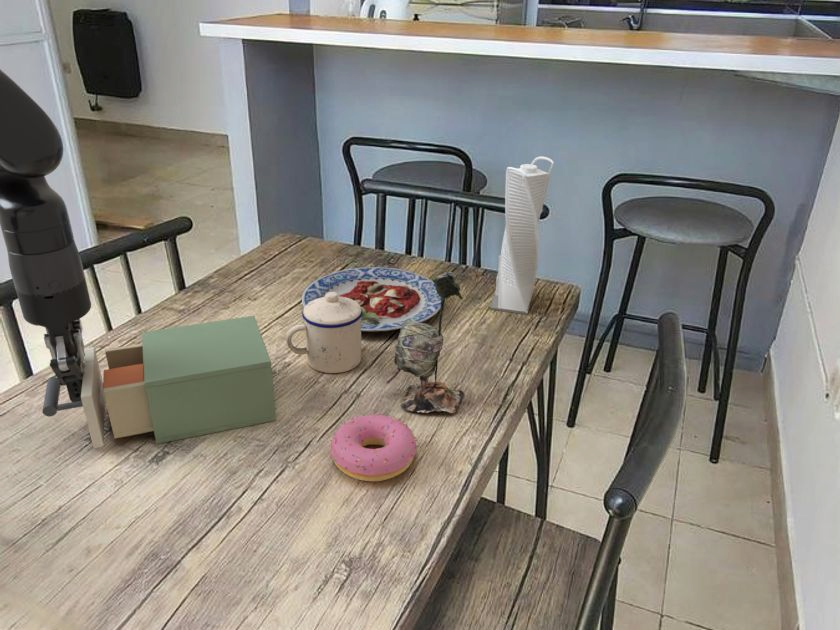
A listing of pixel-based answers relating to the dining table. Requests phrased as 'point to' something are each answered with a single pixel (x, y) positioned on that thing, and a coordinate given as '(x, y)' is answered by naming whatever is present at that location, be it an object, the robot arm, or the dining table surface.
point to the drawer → (107, 396)
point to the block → (123, 376)
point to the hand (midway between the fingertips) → (80, 398)
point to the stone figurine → (426, 357)
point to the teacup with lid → (330, 333)
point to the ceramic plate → (380, 295)
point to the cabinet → (207, 378)
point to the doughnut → (373, 461)
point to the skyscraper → (520, 237)
